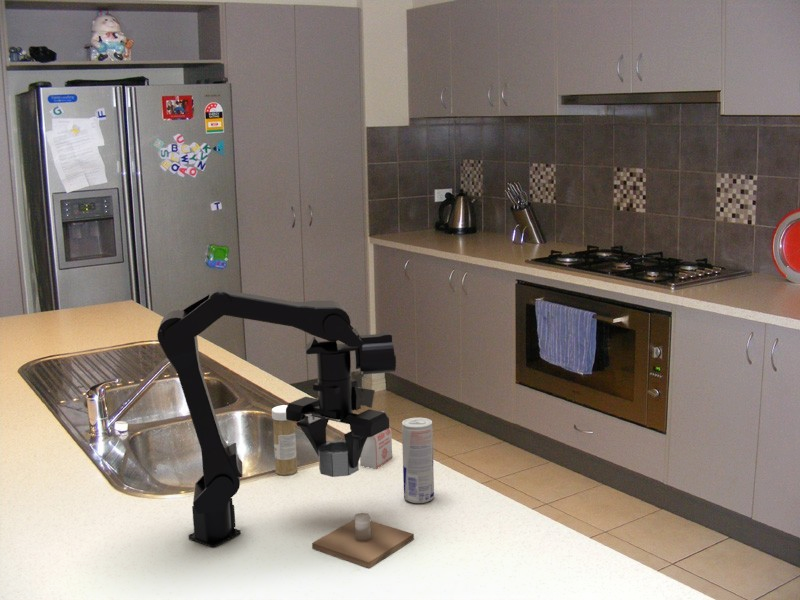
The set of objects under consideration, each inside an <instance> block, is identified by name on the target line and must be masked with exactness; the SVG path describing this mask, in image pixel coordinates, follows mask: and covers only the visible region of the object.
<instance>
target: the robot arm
mask: <svg viewBox="0 0 800 600" xmlns="http://www.w3.org/2000/svg"><path fill="white" fill-rule="evenodd" d="M224 316H225V317H226V316H227V317H232V318H238V319H245V320H251V321H256V322H257V321H258V322H262V323H263V322H264V323H269V324H274V325H281V326H286V327H292V328H295V329H298V330H300V331H303V332H305V333H306V334H309V335H311V336H313V337H311V340H310V341H309V342H307V344H306V345H304V350H305V351H304V352H305V354H306V355H315V356H316V372H317V373H316V374H317V382H315V383H313V384H312V389H313V391H315V392H316V391H317V392H318V393H317V394H318V398H314V397H309V396H303V397H301V398H298V399H296V400H293V401H292V402H291V401H290V402H288V404H287V405H288V406H287V408H286V420H291V421H294V422H296V426H297V427H299V428H300V429H301V430H302V432H303V434H304V435H305V437H306V438H307V441H308V442H309V443H310V445H311V446H312V448H313V449H314V452H315V453H316V455H317V457H318V458H319V453H318V446H319V445H322V444H324V443H326V442H327V425H328V423H329V422H330V421H333V422H336V423H342V424H347V425H349V429H350V431H349V432H346V433H344V434H343V436H344V440H345V442H346V447H347V452H348V457H349V461H350V464H351V467H352V468H355V467H357V465H358V463H359V462H360V456H361V453H362V450H363V447H364V444H365V442H366V440H367V438H368V437H372V436H374V435H376V434H378V433H380V432H382V431H384V430H386V429H388V428H389V426H390V418H389V415H388V414H387V413H386V412H385V411H384V412H382V411H379V410H374V409H371V408H373V404H374V398H375V391H376V390H375V389H370V388H366V387H365V388H364V387H359V385H358V381H357V380H356V379H353V378H352V365H351V364H352V363H351V362H352V361H351V352H352V357H353V358H352V359H353V368H354V369H355V370H359V372H360V373H361V375H372V374H373V375H374V374H387V373H388V374H389V373H395V372H396V369H397V357H396V356H397V355H396V354H395V349H394V343H393V335H392V334H391V332H388V331H386V332H380V333H376V334H375V333H374V334H360V333H359V331H358V330H357V328H354V327H353V326H352V324H351V318H350V315H349V314H348V312H347V310H346V309H345V307H344V306H343V305H342V304H341V303H340V302H339V301H334V300H308V301H292V300H287V299H280V298H275V297H268V296H264V295H258V294H257V295H256V294H251V293H245V292H241V291H240V292H239V291H235V290H234V291H233V290H230V289H228V288H225V287H217V288H214V289H213V290H212V291H211V292H210V293H208V294H207V295H205V296H203V297H202V298H200V299H198V300H196V301H195V302H193V303H191V304H190V305H188V306H187V307H185V308H184V309H182V310H179V309H178V310H171V311H170V312H168V313H166V314H165V315H164V316H163V318H162V319H161V321H160V323H159V326H158V329H157V337H156V338H157V341H158V343H159V345H160V347H161V349H162V351H163V352H164V355H165V356H166V358H167V360H168V361H169V363H170V365H171V366H172V367H173V369H174V371H176V374H177V377H178V380H179V382H180V383H179V384H180V385H181V386H180V387H181V389H182V393H183V396H184V400H185V402H186V406H187V409H188V412H189V415H190V418H191V420H192V421H191V422H192V425H193V427H194V431H195V434H196V438H197V441H198V444H199V447H200V450H201V451H200V452H201V461H202V462H201V463H202V473H203V475H202V476H201V477H199V479H198V480H197V481H196V482H195V484H194V491H193V498H192V499H193V500H192V501H193V502H192V506H191V509H192V522H193V523H192V524H193V532H191V533H189V534H188V539H190V540H192V541H195V542H198V543H200V544H203V545H206V546H208V547H211V548H215V547H217V546H219V545H221V544H223V543H225V542H227V541H229V540H231V539H233V538H235V537H237V536H239V535H240V534H241V533H242V532H241V529H238V528H236V514H235V513H236V512H235V505H234V504H233V497H234V496H235V495H236V494H237V493H238V491H239V489H240V486H241V478H243V477H244V476H243V461H242V460H241V459H240V457H239V454H238V450H237V448H238V447H237V443H236V442H234V443H231V444H228V443H227V441H226V440H225V439H224V437H223V433H222V431H221V428H220V425H219V422H218V418H217V414H216V412H215V409H214V406H213V405H214V404H213V401H212V398H211V395H210V392H209V389H208V386H207V382H206V379H205V377H204V376H205V375H204V373H203V369H202V366H201V363H200V356H199V355H200V354H199V342H198V336H199V335H200V334H201V333H203V332H204V331H206V329H208V328H209V327H210V326H211V325H213V324H214V323H215V322H216V321H218V320H219V319H220V318H222V317H224ZM317 338H319V339H322V340H319V339H317ZM338 341H339V342H341V343H337V342H338ZM362 406H364V407H367V408H369V409H367V410H364V411H362V412H360V413H353V412H354V411H359V410H360V409H361V408H362Z"/></svg>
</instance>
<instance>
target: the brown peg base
mask: <svg viewBox="0 0 800 600" xmlns="http://www.w3.org/2000/svg"><path fill="white" fill-rule="evenodd" d="M413 540H415V534H414V533H412V532H410V531H406V530H402V529H399V528H396V527H393V526H390V525H387V524H382V523H380V522H376V521H374V520H371V515H370V514H369V513H367V512H358V513H356V514H354V518H353V519H352V520H350V521H347V522H346V523H345V524H343V525H341V526H339V527H337V528H336V529H335V530H332V531H331V532H329V533H327V534H325V535H324V536H322V537H320V538H318V539H317V540H315V541H313V542H312V543H311V548H312V549H313V550H315V551H319V552H321V553H323V554H327V555H330V556H333V557H336V558H338V559H342V560H343V561H347V562H350V563H353V564H355V565H358V566H362V567H364V568H367V569H370V568H372V567H373V566H375V565H376V564H378V563H379V562H381V561H383V560H384V559H386V558H387V557H389V556H390V555H391V554H394V553H395V552H396V551H398V550H399V549H401V548H403V547H404V546H406V545H408V544H409V543H410V542H412V541H413Z"/></svg>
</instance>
